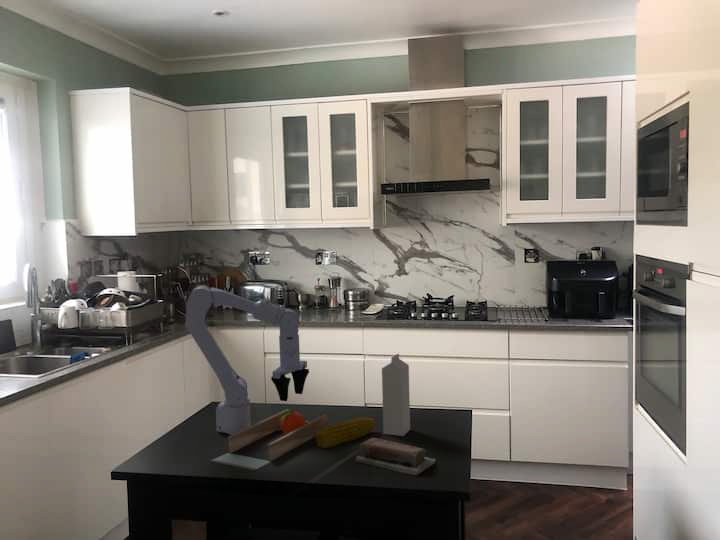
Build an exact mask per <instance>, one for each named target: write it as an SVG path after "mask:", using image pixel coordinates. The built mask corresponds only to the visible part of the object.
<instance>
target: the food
mask: <svg viewBox="0 0 720 540" xmlns="http://www.w3.org/2000/svg"><path fill="white" fill-rule="evenodd" d="M376 425H377V423H376V420H375V419H373V418H371V417H367V416H366V417H365V416H364V417H358V418H354V419H350V420H345V421H342V422H338V423H336V424H333V425H328V427H325V428H323V429H321V430H320V431H318V433H317V434H316V437H315V440H316V444H317V447H320V448H322V449H330V448H335V447H336V446H338V445H340V444H343V443H345V442H346V443H350V441H351V442H352V441H355V440H356V439H359V438H362V437H365V435H368V434H370V433H371V432H372V431H374V429H376Z"/></svg>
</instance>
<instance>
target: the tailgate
mask: <svg viewBox="0 0 720 540" xmlns="http://www.w3.org/2000/svg"><path fill="white" fill-rule="evenodd" d="M210 462H213V463H216V464H222V465H227V466H231V467H235V468H241V469H245V470H249V471H254V472H255V471H257V470H259V469H260V468H262V467H264V466H266V465H268V464H270V463H271V462H272V461H269V460H265V459H260V458H255V457H252V456H245V455H241V454H235V453H229V452H226V453H224V454H222V455H220V456H218V457H216V458H214V459H211V460H210Z"/></svg>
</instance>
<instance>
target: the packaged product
mask: <svg viewBox="0 0 720 540" xmlns="http://www.w3.org/2000/svg"><path fill="white" fill-rule="evenodd" d="M358 449H359V451H358V453H359V454H358V455H356V456H355V459H354V460H355V462H356V461H357V462H358V463H360V462H361V463H360V464H365V463H366V465H368V464H369V466H372V465H373V467H376V466H377V467H376V468H380V467H381V469H384V468H385V469H386V470H389V471H394V472H397V473H401V474H402V473H403V474H407V475H411V476H418V475H420V474H421V473H423V472H424V471H425V470H427V469H428V468H430V467H431V466H433V465H434V464H435V463H436V458H430V457H427V456H425V455H426V453H427V450H426V449H424V448H421V447H418V446H417V447H416V446H412V445H409V444H404V443H401V442H396V441H391V440H386V439H382V438H376V437H370V438H368V439H367V440H364V441H363V442H361V443H360V444H359V447H358ZM385 469H384V470H385Z"/></svg>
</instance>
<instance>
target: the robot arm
mask: <svg viewBox="0 0 720 540" xmlns="http://www.w3.org/2000/svg"><path fill="white" fill-rule="evenodd" d="M212 305H213V307H214V308H216V307H220V306H227V307H231V308H234V309H237V310H240V311H243V312H247V313H250V314H251V315H252V317H253V319H254V320H256V321H259V322H262V323H265V324H269V325H271V326H279V336H278V344H279V345H278V346H279V366H278V367H277V368H276V369H274V370H273V371H271V372H272V376H270V377H271V381H272V383H273V384H274V387H275V388H276V392H277V393H278V397H279V401H281V402H287V401H288V398H289V386H290V383H291V377H287V376H286V375H288V374H291V376H292V380H293V389H294V394H295V395H297V394H298V395H302V394H303V391H304V388H305V384H306V383H305V382H306V380H307V377H308V375H309V373H310V368H308V360H301V358H300V357H301V356H300V355H301V353H300V335H299V326H300V324H301V323H300V318H299V316H298V314H297V313H296V311H294V310H293V309H291V308H290V307H289V308H288V307H287V308H286V306H285V305H282V306H281V305H277V304H274V303H272V302H271V301H270V300H269V299H264V300H263V299H260V300H258V301H256V302H254V301H252V300H250V299H246V298H244V297H242V296H239V295H237V294H234V293H232V292H230V291H226V290H223V289H220V288H216V287H209V286H207V285H197V286H195V288H194V289H192V291H191V293H190V295H189V297H188V299H187V301H186V304H185V307H186V309H185V326H186V328H187V330H188V332H189V333H190V335H191V336H192V338H193V340H194V341H195V343H196V345H197V346H198V348H199V349H200V351H201V353H202V354H203V355H204V357H205V359H206V361H207V362H208V363H209V365H210V367H211V368H212V370H213V372H214V374H215V375H216V376H217V378H218V380H219V383H220V386H221V388H222V389H223V391H224V397H225V400H224V401H223V400H222V401H221V402H220V403H219V404H217V407H216V410H215V420H216V421H215V422H216V432H218V433H225V434H227V435H230V436H231V435H233V434H235V433H237V432H240V431H242V430H244V429H246V428H248V427H250V426H252V425H251V424H252V421H251V404H250V403H251V402H250V399H249V396H248V395H249V394H248V383H247V381H246V380H245V379H244V378H243V377H241V376H240V375H239V373H237V371H236V370H235V369H234V368H233V367H232V365H231V364H230V362H229V360H228V359H227V357H226V355H225V354H224V352H223V350H222V349H221V347H220V346H219V344H218V342H217V341H216V339H215V338H214V336H213V334H212V333H211V330H210V329H209V328H208V326H207V324H206V323H205V320H206V319H205V318H206V315H207V312H208V310H209V309H210V307H212Z"/></svg>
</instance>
